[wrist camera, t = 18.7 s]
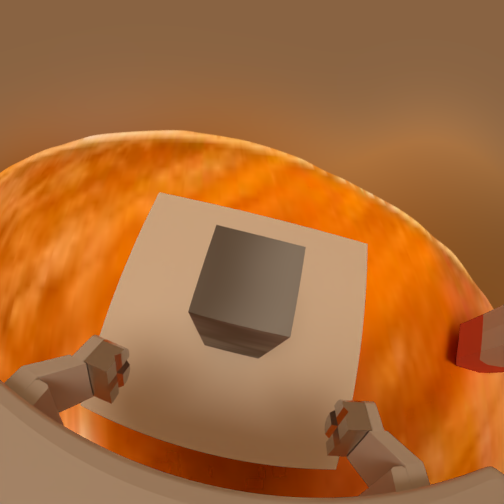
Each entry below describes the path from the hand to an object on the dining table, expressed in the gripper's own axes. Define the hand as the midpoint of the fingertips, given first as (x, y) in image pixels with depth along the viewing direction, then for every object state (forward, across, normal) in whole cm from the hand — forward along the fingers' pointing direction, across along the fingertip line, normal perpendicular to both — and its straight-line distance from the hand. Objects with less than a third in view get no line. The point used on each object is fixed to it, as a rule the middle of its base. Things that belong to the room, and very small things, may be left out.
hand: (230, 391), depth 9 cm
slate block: (+10, 0, +4) cm, 11 cm away
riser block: (+14, +1, +7) cm, 15 cm away
